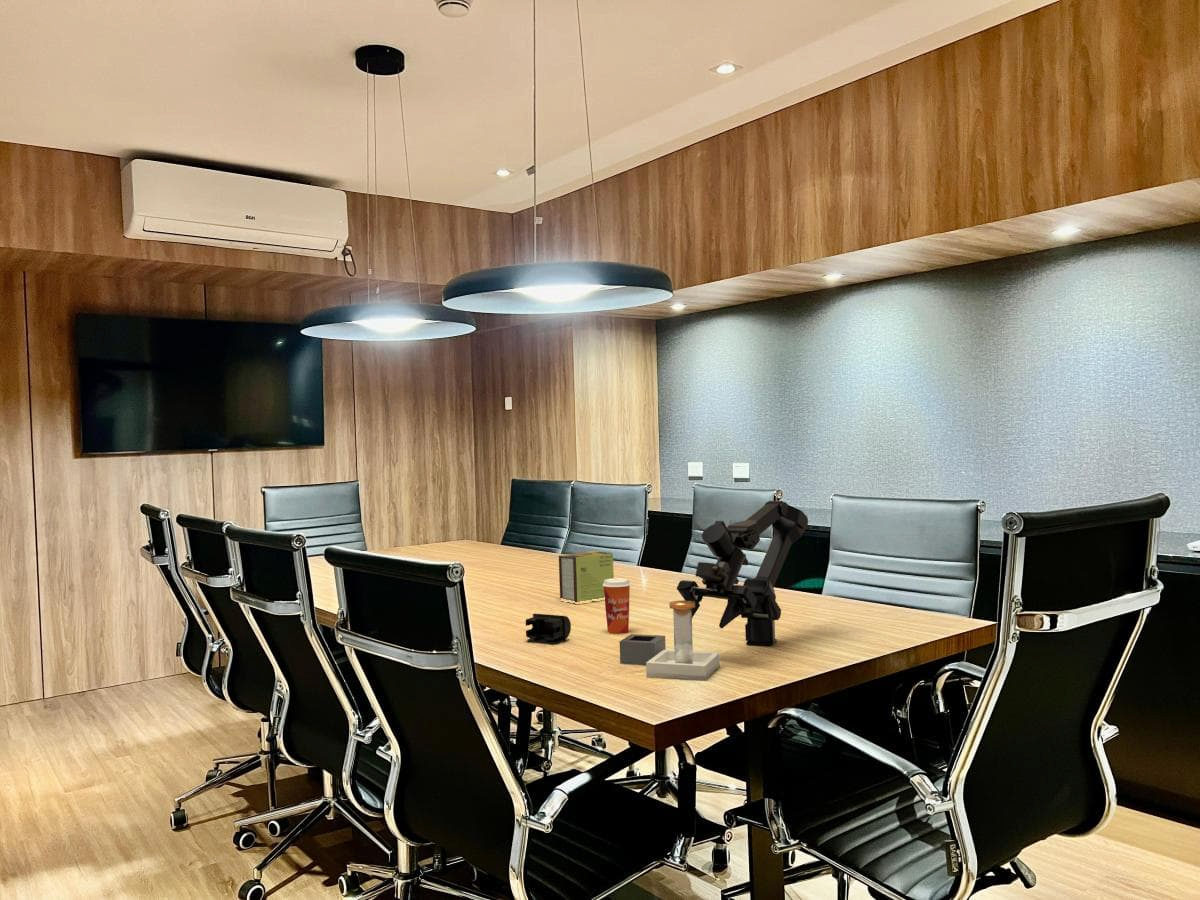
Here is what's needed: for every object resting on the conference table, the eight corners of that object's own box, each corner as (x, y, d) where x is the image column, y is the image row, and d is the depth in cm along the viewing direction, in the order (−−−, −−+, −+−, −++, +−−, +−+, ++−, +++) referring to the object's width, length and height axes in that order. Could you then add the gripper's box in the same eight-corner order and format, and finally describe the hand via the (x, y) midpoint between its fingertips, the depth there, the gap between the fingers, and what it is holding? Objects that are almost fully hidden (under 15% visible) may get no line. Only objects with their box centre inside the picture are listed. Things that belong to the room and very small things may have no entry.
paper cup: (608, 635, 235) (607, 582, 235) (600, 630, 242) (598, 579, 242) (636, 633, 237) (634, 580, 237) (627, 627, 244) (626, 577, 244)
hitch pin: (694, 663, 197) (692, 600, 197) (698, 669, 191) (696, 604, 191) (669, 664, 196) (667, 601, 196) (673, 670, 191) (671, 605, 191)
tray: (719, 666, 197) (719, 652, 197) (705, 680, 185) (705, 666, 185) (664, 662, 202) (663, 649, 202) (646, 676, 190) (646, 662, 190)
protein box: (615, 599, 294) (613, 552, 294) (577, 605, 285) (575, 557, 285) (596, 596, 302) (595, 550, 302) (559, 601, 293) (557, 554, 293)
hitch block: (665, 657, 208) (665, 635, 208) (655, 665, 200) (654, 643, 200) (632, 655, 211) (631, 634, 211) (620, 663, 203) (619, 641, 203)
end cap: (571, 640, 231) (571, 614, 231) (556, 645, 225) (555, 618, 225) (540, 637, 236) (539, 611, 236) (524, 642, 230) (523, 616, 230)
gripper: (679, 546, 210) (653, 600, 201) (748, 550, 198) (724, 608, 189) (698, 574, 216) (674, 628, 208) (767, 580, 204) (744, 637, 196)
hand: (703, 625), depth 200 cm, fingers open, 9 cm apart
